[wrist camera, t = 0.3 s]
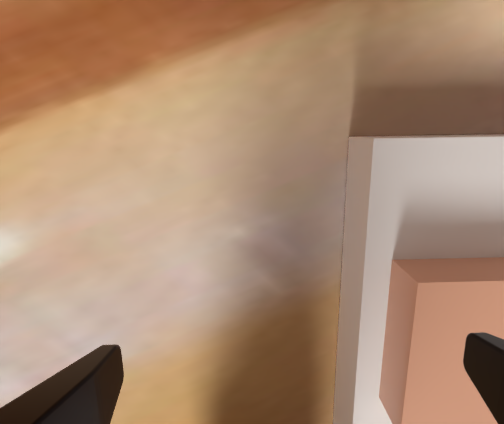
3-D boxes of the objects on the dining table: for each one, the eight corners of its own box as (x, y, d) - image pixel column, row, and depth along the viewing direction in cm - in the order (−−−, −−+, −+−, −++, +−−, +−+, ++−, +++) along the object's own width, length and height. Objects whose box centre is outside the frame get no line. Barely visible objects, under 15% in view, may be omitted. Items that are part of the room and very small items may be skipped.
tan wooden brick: (491, 393, 20) (529, 433, 18) (378, 396, 20) (399, 438, 18) (517, 256, 18) (565, 279, 16) (391, 259, 18) (418, 282, 15)
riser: (509, 420, 26) (556, 471, 22) (332, 426, 26) (348, 479, 22) (571, 133, 21) (647, 134, 17) (348, 136, 20) (373, 138, 16)
